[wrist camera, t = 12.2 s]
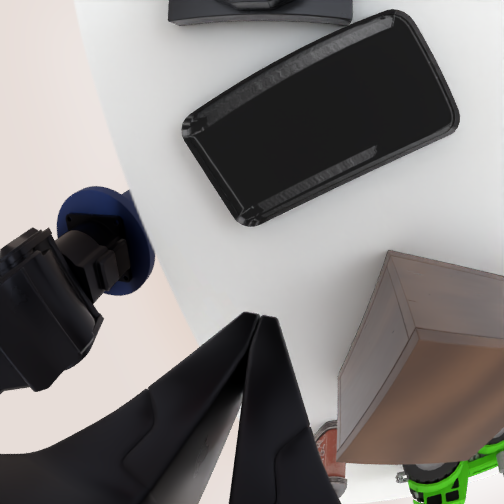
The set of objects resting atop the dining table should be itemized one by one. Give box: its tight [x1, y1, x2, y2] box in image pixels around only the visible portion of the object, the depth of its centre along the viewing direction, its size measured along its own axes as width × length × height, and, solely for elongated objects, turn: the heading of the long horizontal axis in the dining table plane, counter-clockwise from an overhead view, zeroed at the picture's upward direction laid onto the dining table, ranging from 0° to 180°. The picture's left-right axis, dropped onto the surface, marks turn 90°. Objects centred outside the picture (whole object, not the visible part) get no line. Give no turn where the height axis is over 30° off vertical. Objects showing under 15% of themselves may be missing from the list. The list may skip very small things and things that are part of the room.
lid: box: [336, 328, 504, 465], centre depth 15 cm, size 12×13×1 cm
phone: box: [182, 9, 460, 227], centre depth 17 cm, size 8×1×15 cm
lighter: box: [314, 421, 347, 498], centre depth 27 cm, size 8×3×10 cm, turn 174°
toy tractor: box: [396, 428, 504, 504], centre depth 25 cm, size 11×16×10 cm
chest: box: [336, 250, 504, 452], centre depth 19 cm, size 12×13×8 cm
